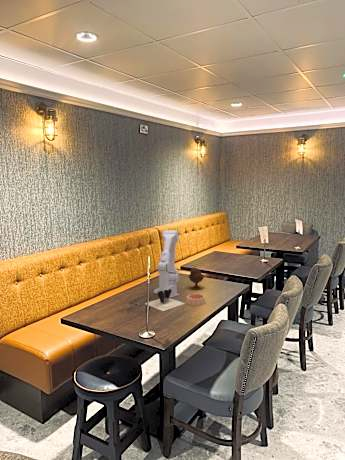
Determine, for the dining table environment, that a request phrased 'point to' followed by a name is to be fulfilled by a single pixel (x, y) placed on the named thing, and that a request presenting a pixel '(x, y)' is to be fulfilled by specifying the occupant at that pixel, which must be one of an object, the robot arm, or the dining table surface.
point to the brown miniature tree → (196, 277)
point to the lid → (164, 303)
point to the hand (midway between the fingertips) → (164, 301)
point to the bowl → (196, 299)
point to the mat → (165, 307)
